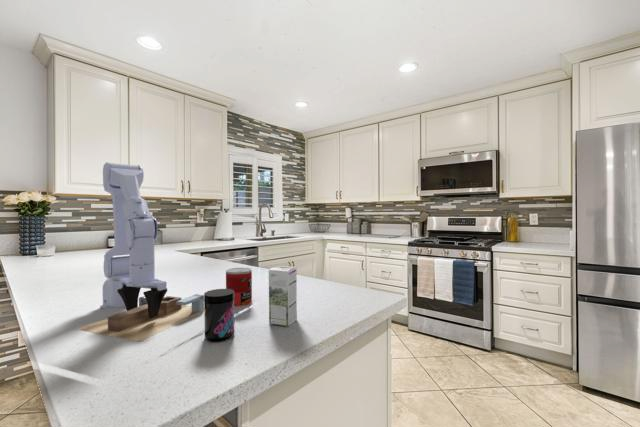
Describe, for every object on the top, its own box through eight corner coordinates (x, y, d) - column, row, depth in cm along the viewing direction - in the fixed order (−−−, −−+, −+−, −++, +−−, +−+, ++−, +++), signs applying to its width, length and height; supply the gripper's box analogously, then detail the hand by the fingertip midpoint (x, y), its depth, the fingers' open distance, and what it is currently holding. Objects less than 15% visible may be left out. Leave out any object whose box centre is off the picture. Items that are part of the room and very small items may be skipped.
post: (137, 310, 87) (137, 298, 87) (144, 308, 89) (143, 296, 89) (142, 311, 86) (142, 298, 86) (149, 309, 88) (149, 296, 88)
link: (167, 306, 90) (167, 296, 90) (181, 308, 88) (181, 297, 88) (105, 329, 73) (105, 316, 73) (120, 332, 71) (120, 319, 71)
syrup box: (297, 319, 81) (297, 266, 81) (288, 327, 75) (288, 270, 75) (278, 317, 83) (278, 264, 83) (268, 325, 77) (267, 268, 77)
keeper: (176, 318, 80) (176, 301, 80) (196, 309, 87) (196, 294, 87) (185, 319, 79) (184, 302, 79) (204, 310, 86) (204, 295, 86)
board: (75, 332, 73) (75, 328, 73) (156, 304, 95) (156, 301, 95) (139, 344, 66) (139, 341, 66) (210, 311, 88) (210, 308, 88)
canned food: (245, 309, 90) (245, 272, 90) (221, 307, 91) (220, 271, 91) (256, 301, 97) (255, 267, 97) (233, 300, 99) (233, 267, 99)
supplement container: (207, 345, 66) (206, 298, 66) (202, 334, 72) (201, 291, 71) (238, 338, 69) (237, 293, 69) (230, 328, 75) (230, 287, 75)
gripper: (107, 264, 78) (108, 317, 78) (149, 267, 73) (150, 323, 73) (132, 260, 84) (133, 308, 85) (172, 263, 80) (173, 314, 80)
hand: (142, 315), depth 79 cm, fingers open, 7 cm apart
